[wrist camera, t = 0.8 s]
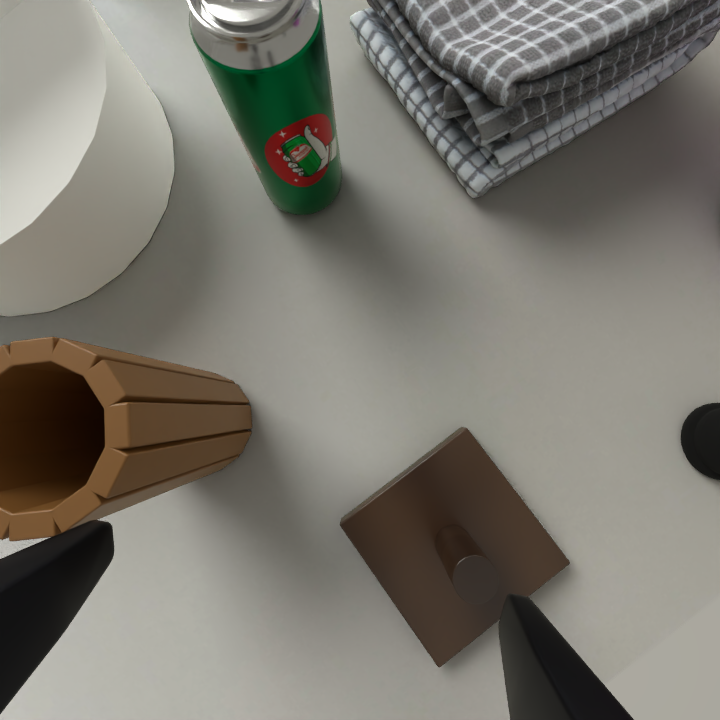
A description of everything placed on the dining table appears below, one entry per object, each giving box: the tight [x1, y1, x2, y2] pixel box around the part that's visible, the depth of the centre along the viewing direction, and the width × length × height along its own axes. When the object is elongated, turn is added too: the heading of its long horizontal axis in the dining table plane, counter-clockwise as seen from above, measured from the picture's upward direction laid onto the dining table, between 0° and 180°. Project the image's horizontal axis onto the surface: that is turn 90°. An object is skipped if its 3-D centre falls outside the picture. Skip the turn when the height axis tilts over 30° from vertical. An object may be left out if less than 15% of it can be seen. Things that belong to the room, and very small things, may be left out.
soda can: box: [187, 0, 342, 215], centre depth 19 cm, size 5×5×12 cm
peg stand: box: [340, 427, 570, 667], centre depth 19 cm, size 9×9×6 cm
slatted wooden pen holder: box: [0, 337, 252, 541], centre depth 18 cm, size 6×6×12 cm
